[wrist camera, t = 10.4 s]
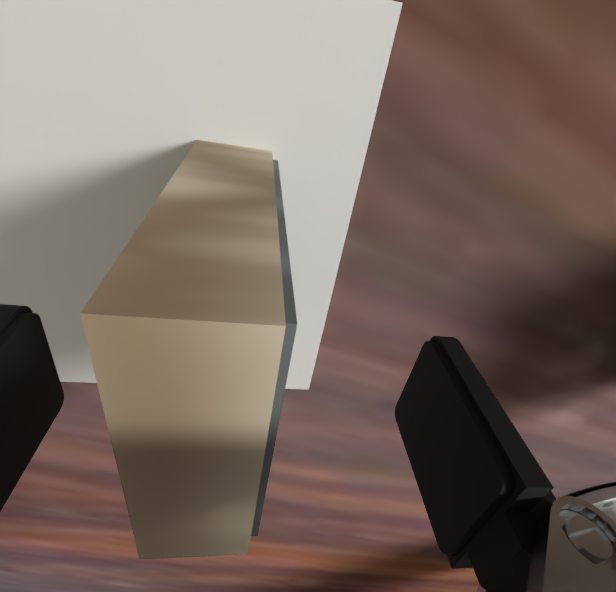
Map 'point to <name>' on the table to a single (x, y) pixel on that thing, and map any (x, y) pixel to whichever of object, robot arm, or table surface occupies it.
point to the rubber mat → (176, 136)
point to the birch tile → (198, 353)
